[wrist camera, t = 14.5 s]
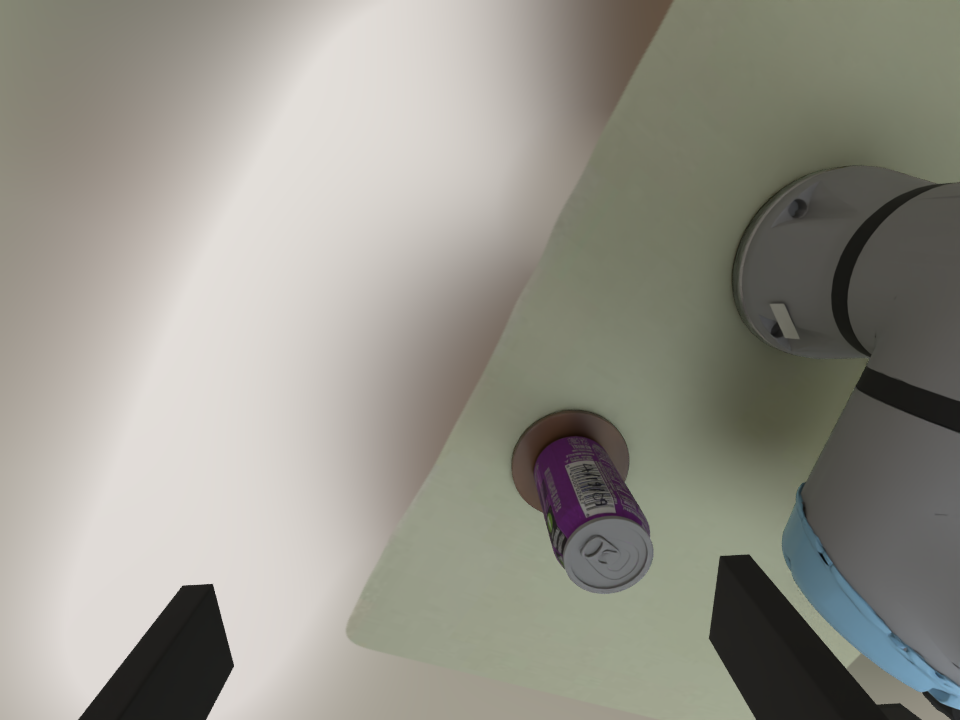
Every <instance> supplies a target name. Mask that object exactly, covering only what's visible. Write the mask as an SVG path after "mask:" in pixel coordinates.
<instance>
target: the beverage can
mask: <svg viewBox="0 0 960 720" xmlns="http://www.w3.org/2000/svg"><path fill="white" fill-rule="evenodd" d="M534 480H535V484H536V488H537V491H538V495H539V499H540V503H541V506H542V510H543V514H544V518H545V521H546V525H547V529H548V533H549V536H550V540H551V544H552V548H553V551H554V554H555V556H556V558H557V560H558V562H559V563H560V564H561V566H562V567H563V568H564V569H565V570H566V572H567V574H568V576H569V578H570V579H571V580H572V581H573V582H574V583H575V584H576V585H577V586H579V587H580V588H582V589H584V590H586V591H589V592H593V593H600V594H608V593H615V592H619V591H622V590H625V589H627V588H629V587H631V586H633V585H634V584H636V583H637V582H638V581H640V580H641V579H642V578H643V577H644V575H645V574H646V573H647V571H648V570H649V568H650V566H651V563H652V560H653V545H652V542H651V539H650V529H649V525H648V522H647V519H646V518H645V516H644V514H643V512H642V511H641V509H640V507H639V506H638V504H637V502H636V501H635V499H634V497H633V496H632V494H631V492H630V491H629V489H628V487H627V486H626V484H625V482H624V481H623V479H622V477H621V476H620V474H619V472H618V471H617V469H616V467H615V466H614V464H613V462H612V461H611V459H610V457H609V456H608V454H607V452H606V451H605V450H604V448H603V447H602V446H601V445H599V444H598V443H597V442H595V441H593V440H591V439H588V438H585V437H578V436H573V437H566V438H562V439H559V440H557V441H555V442H553V443H551V444H550V445H548V446H547V447H546V448H545V449H544V450H543V451H542V452H541V454H540V455H539V457H538V458H537V461H536V463H535V467H534Z"/></svg>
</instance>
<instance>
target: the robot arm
mask: <svg viewBox="0 0 960 720" xmlns="http://www.w3.org/2000/svg"><path fill="white" fill-rule="evenodd" d="M733 292H734V298H735V302H736V306H737V308H738V311H739V314H740V316H741V318H742V319H743V321H744V323H745V324H746V326H747V327H748V328H749V329H750V331H751V332H752V333H753V334H754V335H755V336H756V337H758V338H759V339H760V340H762V341H763V342H765V343H766V344H768V345H770V346H772V347H774V348H776V349H779V350H781V351H784V352H786V353H789V354H793V355H797V356H802V357H807V358H814V359H847V358H870V359H869V361H868V363H867V365H866V367H865V369H864V371H863V373H862V375H861V377H860V379H859V381H858V383H857V385H856V386H855V388H854V390H853V392H852V394H851V396H850V398H849V400H848V402H847V404H846V406H845V408H844V409H843V411H842V413H841V415H840V417H839V419H838V421H837V423H836V425H835V427H834V429H833V431H832V433H831V435H830V437H829V438H828V440H827V442H826V444H825V446H824V448H823V450H822V452H821V454H820V456H819V458H818V460H817V462H816V464H815V466H814V467H813V469H812V471H811V473H810V475H809V477H808V479H807V481H806V482H805V483H802V484H801V485H800V487H799V488H798V490H797V494H796V504H795V506H794V508H793V511H792V513H791V515H790V518H789V520H788V522H787V524H786V527H785V529H784V532H783V536H782V551H783V555H784V558H785V561H786V563H787V566H788V568H789V569H790V570H791V572H792V576H793V579H794V581H795V582H796V584H797V585H798V587H799V588H800V590H801V591H802V593H803V594H804V595H805V597H806V598H807V599H808V601H809V602H810V603H811V604H812V605H813V607H814V608H815V609H816V610H817V611H818V612H819V614H820V615H821V616H822V617H823V618H824V619H825V620H826V621H827V622H828V623H829V624H830V625H831V626H832V627H833V628H834V629H835V630H836V631H837V632H838V633H839V634H840V635H841V636H843V637H844V638H845V639H846V640H847V641H848V642H849V643H850V644H851V645H853V646H854V647H855V648H856V649H857V650H858V651H860V652H861V653H862V654H863V655H865V656H866V657H867V658H869V659H870V660H871V661H872V662H874V663H875V664H876V665H878V666H879V667H880V668H882V669H883V670H885V671H886V672H887V673H889V674H890V675H892V676H893V677H895V678H896V679H898V680H900V681H901V682H903V683H904V684H906V685H908V686H910V687H911V688H913V689H915V690H916V691H919V692H925V691H928V692H929V693H930V694H931V695H932V696H933V697H934V698H935V699H937V700H938V701H939V702H940V703H942V704H945V705H947V706H950V707H953V708H956V709H959V710H960V182H957V183H946V184H936V183H933V182H930V181H927V180H923V179H920V178H917V177H913V176H910V175H907V174H904V173H900V172H897V171H894V170H890V169H887V168H882V167H874V166H844V167H837V168H830V169H825V170H821V171H818V172H814V173H811V174H809V175H806V176H804V177H802V178H800V179H798V180H796V181H794V182H792V183H791V184H789V185H788V186H786V187H785V188H783V189H782V190H781V191H779V192H778V193H777V194H776V195H774V196H773V197H772V198H771V199H770V200H769V201H768V202H767V203H766V204H765V205H764V206H763V207H762V208H761V210H760V211H759V212H758V213H757V215H756V216H755V217H754V219H753V220H752V222H751V223H750V225H749V226H748V228H747V230H746V232H745V234H744V236H743V238H742V240H741V242H740V245H739V248H738V251H737V254H736V258H735V263H734V269H733ZM709 639H710V641H711V643H712V644H713V646H714V648H715V650H716V651H717V653H718V655H719V657H720V658H721V660H722V662H723V663H724V665H725V667H726V669H727V670H728V672H729V674H730V675H731V677H732V679H733V681H734V682H735V684H736V686H737V687H738V689H739V691H740V693H741V694H742V696H743V698H744V700H745V701H746V703H747V705H748V706H749V708H750V710H751V712H752V713H753V715H754V717H755V718H756V720H921V719H920V718H919V717H917V716H916V715H915V714H913V713H912V712H910V711H909V710H908V709H907V708H905V707H904V706H903V705H901V704H900V703H899V704H884V705H883V704H881V705H876V704H875V702H874V701H873V700H872V699H871V698H870V697H869V695H868V694H867V693H866V692H865V691H864V689H863V688H862V687H861V686H860V685H859V683H858V682H857V681H856V680H855V679H854V678H853V677H852V675H851V674H850V673H849V672H848V671H847V669H846V668H845V667H844V666H843V665H842V663H841V662H840V661H839V660H838V659H837V658H836V656H835V655H834V654H833V653H832V652H831V650H830V649H829V648H828V647H827V646H826V645H825V643H824V642H823V641H822V640H821V639H820V638H819V636H818V635H817V634H816V633H815V632H814V630H813V629H812V628H811V627H810V626H809V625H808V623H807V622H806V621H805V620H804V619H803V617H802V616H801V615H800V614H799V613H798V612H797V610H796V609H795V608H794V607H793V606H792V605H791V603H790V602H789V601H788V600H787V599H786V597H785V596H784V595H783V594H782V593H781V592H780V590H779V589H778V588H777V587H776V586H775V584H774V583H773V582H772V581H771V580H770V579H769V577H768V576H767V575H766V574H765V573H764V572H763V570H762V569H761V568H760V567H759V566H758V564H757V563H756V562H755V561H754V560H753V559H752V557H751V556H750V555H731V556H720V560H719V567H718V575H717V582H716V590H715V597H714V605H713V612H712V620H711V627H710V635H709ZM233 667H234V664H233V660H232V656H231V653H230V648H229V645H228V641H227V637H226V633H225V629H224V625H223V622H222V618H221V614H220V610H219V606H218V602H217V598H216V595H215V591H214V587H213V584H204V585H186V586H182V587H181V588H180V590H179V591H178V592H177V594H176V595H175V596H174V597H173V599H172V600H171V602H170V603H169V604H168V605H167V607H166V608H165V609H164V610H163V612H162V613H161V614H160V615H159V617H158V618H157V619H156V621H155V622H154V623H153V624H152V626H151V627H150V628H149V630H148V631H147V632H146V633H145V635H144V636H143V637H142V639H141V640H140V641H139V643H138V644H137V645H136V646H135V648H134V649H133V650H132V651H131V653H130V654H129V655H128V657H127V658H126V659H125V660H124V662H123V663H122V664H121V666H120V667H119V668H118V670H117V671H116V672H115V673H114V675H113V676H112V677H111V678H110V680H109V681H108V682H107V684H106V685H105V686H104V687H103V689H102V690H101V691H100V693H99V694H98V695H97V696H96V698H95V699H94V700H93V702H92V703H91V704H90V706H89V707H88V708H87V709H86V710H85V712H84V713H83V714H82V716H81V717H80V718H79V719H78V720H206V719H207V717H208V715H209V713H210V711H211V709H212V707H213V705H214V703H215V701H216V700H217V697H218V696H219V694H220V692H221V690H222V688H223V686H224V684H225V682H226V680H227V678H228V677H229V675H230V673H231V671H232V668H233Z"/></svg>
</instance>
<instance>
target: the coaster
mask: <svg viewBox="0 0 960 720" xmlns="http://www.w3.org/2000/svg"><path fill="white" fill-rule="evenodd" d="M573 436H578V437H585V438H588V439H591V440H593V441H595V442H597V443H598V444H599V445H601V446H602V447H603V448H604V450H605V451H606V452H607V454H608V456H609V457H610V459H611V461H612V462H613V464H614V466H615V467H616V469H617V471H618V472H619V474H620V476H621V477H622V479H623V481H624V482H625V480H626V477H627V474H628V469H629V453H628V448H627V445H626V443H625V441H624V439H623V437H622V435H621V434H620V432H619V431H618V430H617V429H616V428H615V426H614V425H613V424H611V423H610V422H609V421H608V420H606V419H604V418H603V417H601V416H599V415H596V414H594V413H590V412H587V411H580V410H568V411H561V412H557V413H553V414H550V415H548V416H546V417H544V418H542V419H540V420H538V421H537V422H535V423H534V424H533V425H532V426H530V427H529V428H528V429H527V430H526V431H525V433H524V434H523V435H522V436H521V438H520V439H519V441H518V443H517V445H516V447H515V450H514V452H513V457H512V476H513V480H514V484H515V486H516V488H517V490H518V492H519V494H520V495H521V496H522V498H523V499H524V500H525V501H526V502H527V503H528V504H529V505H531V506H532V507H533V508H535V509H537V510H539V511H540V512H543V510H542V506H541V503H540V499H539V495H538V491H537V488H536V484H535V480H534V467H535V463H536V461H537V458H538V457H539V455H540V454H541V452H542V451H543V450H544V449H545V448H546V447H547V446H548V445H550V444H551V443H553V442H555V441H557V440H559V439H562V438H566V437H573Z"/></svg>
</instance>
